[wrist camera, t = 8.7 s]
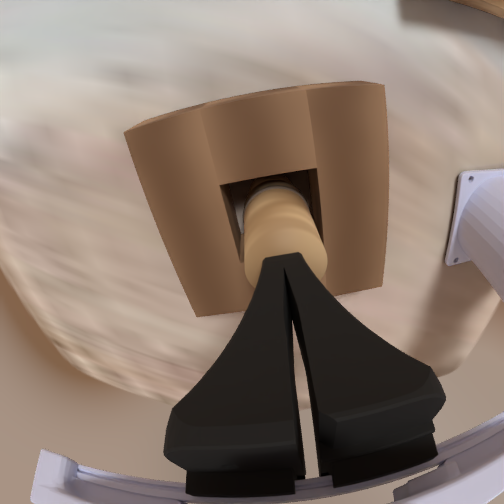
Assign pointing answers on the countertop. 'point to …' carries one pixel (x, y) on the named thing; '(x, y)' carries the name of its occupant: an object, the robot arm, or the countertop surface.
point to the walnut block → (264, 164)
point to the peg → (279, 226)
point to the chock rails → (485, 6)
